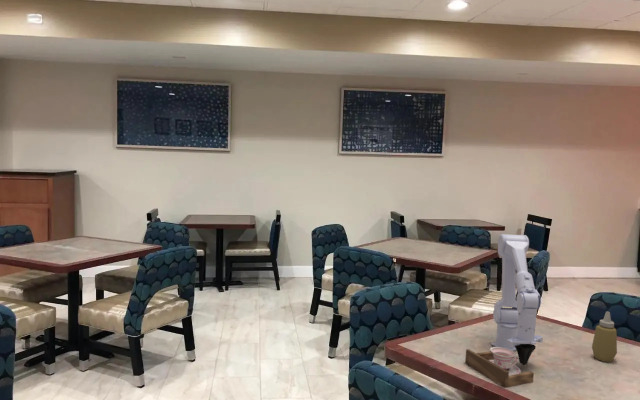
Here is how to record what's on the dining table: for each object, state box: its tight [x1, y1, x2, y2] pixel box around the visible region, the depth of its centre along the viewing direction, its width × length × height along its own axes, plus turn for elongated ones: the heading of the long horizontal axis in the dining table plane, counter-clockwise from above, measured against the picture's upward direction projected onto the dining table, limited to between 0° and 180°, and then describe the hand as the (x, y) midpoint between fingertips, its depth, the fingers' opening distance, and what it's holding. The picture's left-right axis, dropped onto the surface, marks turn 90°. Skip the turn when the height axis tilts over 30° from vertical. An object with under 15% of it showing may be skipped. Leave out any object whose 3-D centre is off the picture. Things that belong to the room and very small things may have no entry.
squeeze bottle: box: [591, 311, 618, 363], centre depth 172 cm, size 8×8×18 cm
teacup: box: [489, 346, 522, 376], centre depth 161 cm, size 12×12×6 cm
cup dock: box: [464, 348, 535, 388], centre depth 158 cm, size 12×18×5 cm, turn 23°
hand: (523, 363), depth 162 cm, fingers closed
